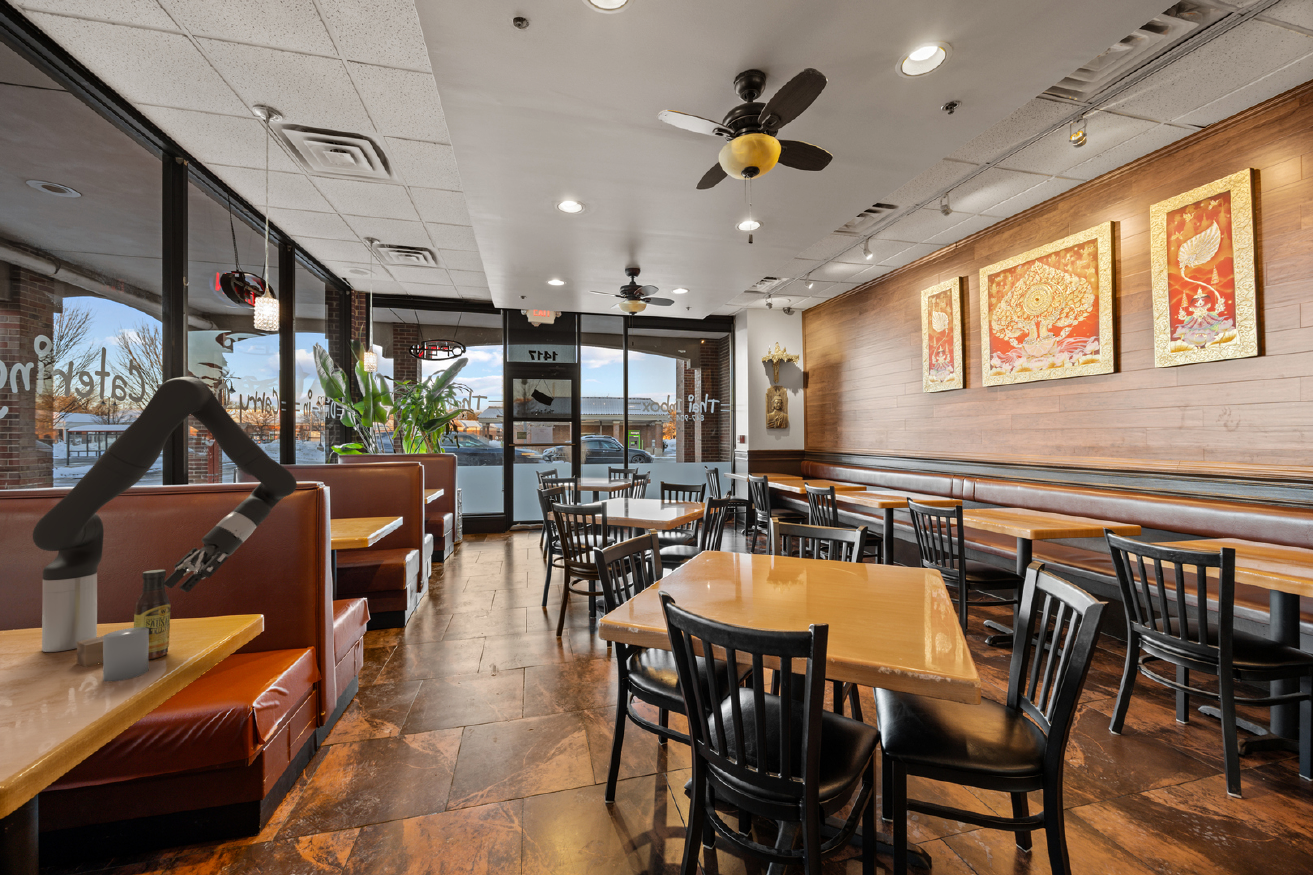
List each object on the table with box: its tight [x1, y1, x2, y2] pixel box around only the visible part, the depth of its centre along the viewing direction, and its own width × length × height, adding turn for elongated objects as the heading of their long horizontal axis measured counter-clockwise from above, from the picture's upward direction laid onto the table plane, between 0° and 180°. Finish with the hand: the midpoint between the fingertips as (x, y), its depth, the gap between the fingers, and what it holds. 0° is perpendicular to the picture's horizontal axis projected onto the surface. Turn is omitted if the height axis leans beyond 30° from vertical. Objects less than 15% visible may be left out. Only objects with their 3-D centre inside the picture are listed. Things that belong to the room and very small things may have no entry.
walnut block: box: [76, 635, 104, 668], centre depth 124 cm, size 5×5×5 cm
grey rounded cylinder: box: [102, 627, 150, 682], centre depth 116 cm, size 7×7×9 cm
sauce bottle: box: [133, 569, 172, 660], centre depth 126 cm, size 7×6×20 cm
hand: (174, 588), depth 130 cm, fingers open, 8 cm apart
